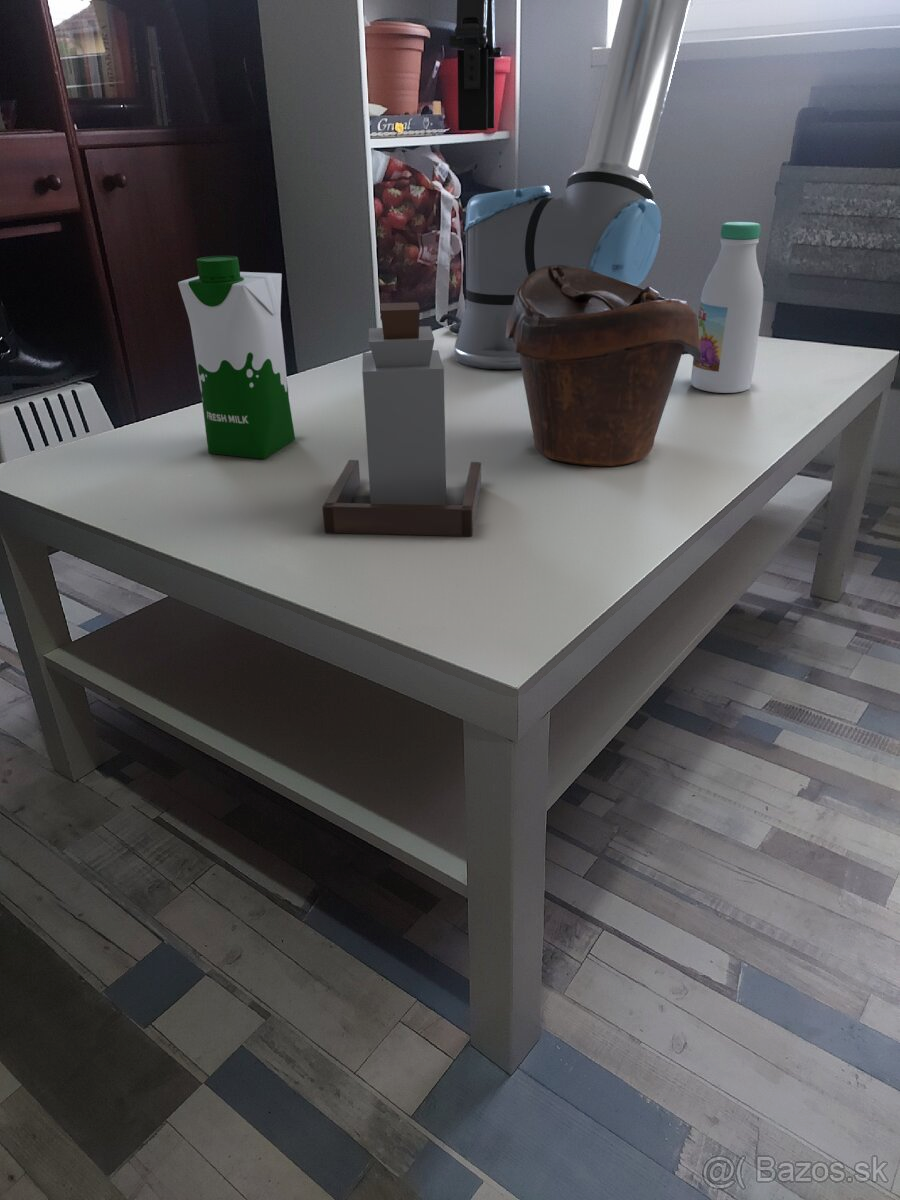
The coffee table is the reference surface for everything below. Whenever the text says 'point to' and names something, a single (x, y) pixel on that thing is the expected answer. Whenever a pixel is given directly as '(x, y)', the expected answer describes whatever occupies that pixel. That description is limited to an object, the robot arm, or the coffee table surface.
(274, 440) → the milk carton
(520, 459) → the coffee table surface
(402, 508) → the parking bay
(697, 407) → the coffee table surface
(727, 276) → the milk bottle
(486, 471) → the coffee table surface
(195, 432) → the coffee table surface
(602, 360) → the case
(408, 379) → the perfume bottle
